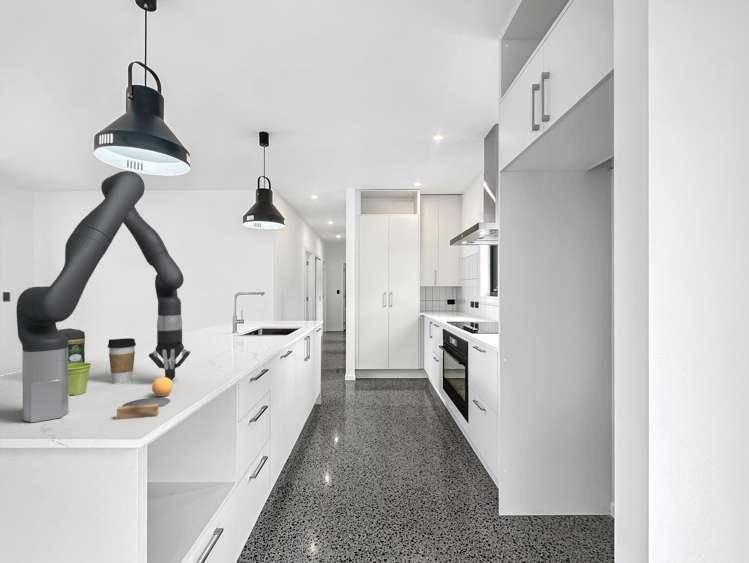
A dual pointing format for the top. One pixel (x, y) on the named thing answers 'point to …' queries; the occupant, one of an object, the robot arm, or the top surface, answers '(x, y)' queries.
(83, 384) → the plant pot
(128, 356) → the coffee cup
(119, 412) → the block
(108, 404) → the top surface
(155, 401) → the disc
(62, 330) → the coffee jar
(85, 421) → the top surface
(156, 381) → the ball
